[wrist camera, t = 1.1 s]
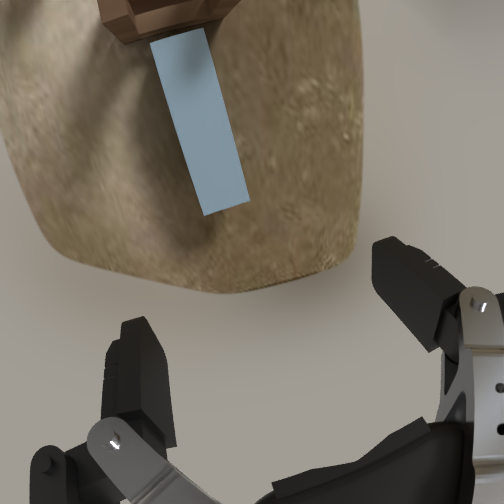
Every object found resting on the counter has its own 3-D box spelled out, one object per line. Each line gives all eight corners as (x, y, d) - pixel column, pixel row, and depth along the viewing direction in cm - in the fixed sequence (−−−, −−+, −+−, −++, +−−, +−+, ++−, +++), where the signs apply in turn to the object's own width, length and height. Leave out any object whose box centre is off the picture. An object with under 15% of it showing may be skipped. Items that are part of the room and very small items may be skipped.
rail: (153, 51, 17) (149, 43, 14) (196, 38, 18) (203, 27, 14) (197, 192, 23) (204, 215, 20) (235, 179, 24) (250, 200, 20)
